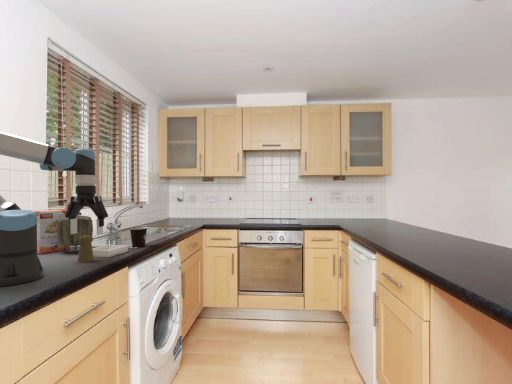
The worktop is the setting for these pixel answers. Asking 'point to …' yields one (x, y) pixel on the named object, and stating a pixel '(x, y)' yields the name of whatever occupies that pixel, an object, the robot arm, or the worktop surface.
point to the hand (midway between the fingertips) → (86, 234)
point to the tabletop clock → (73, 239)
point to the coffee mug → (138, 236)
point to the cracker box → (49, 231)
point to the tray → (109, 250)
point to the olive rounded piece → (85, 249)
